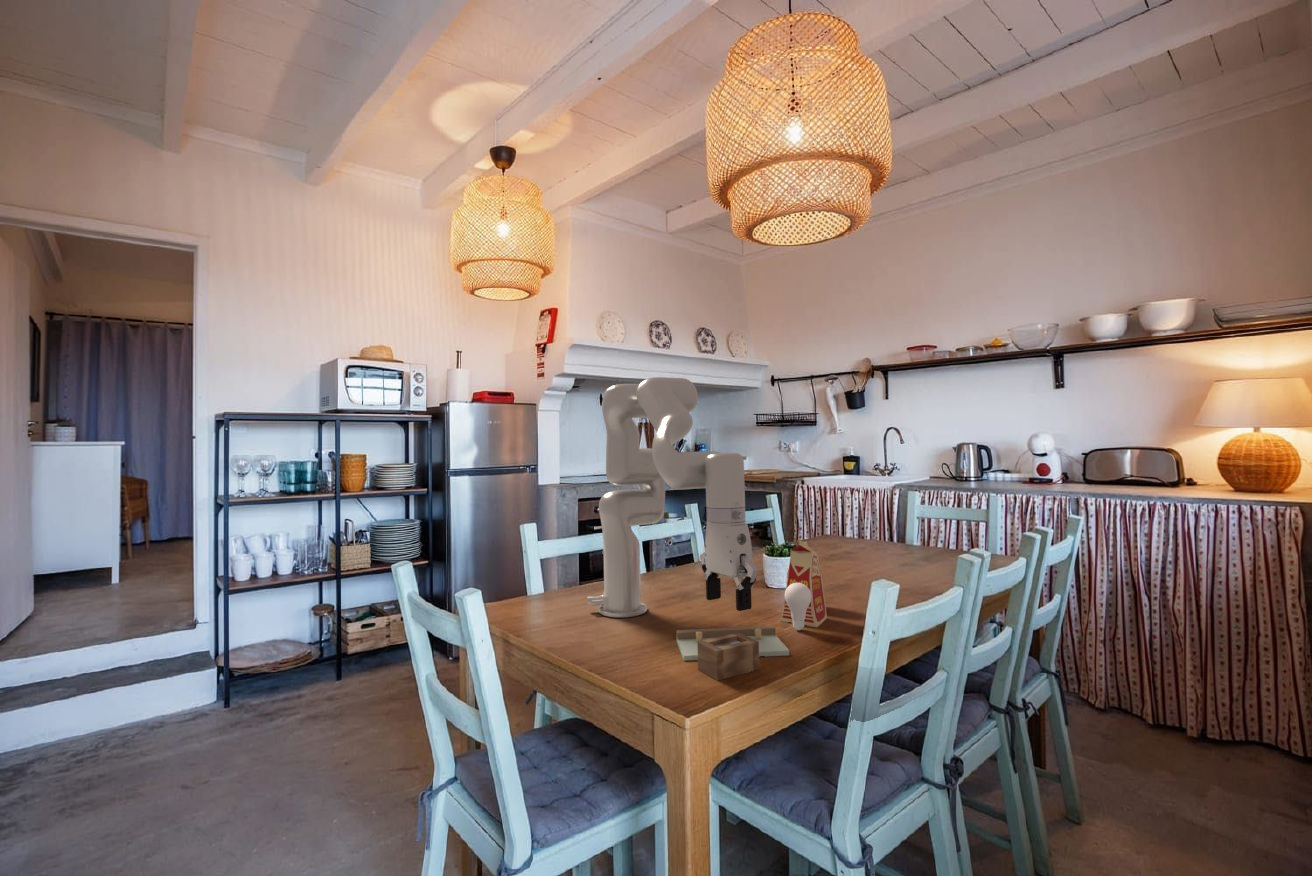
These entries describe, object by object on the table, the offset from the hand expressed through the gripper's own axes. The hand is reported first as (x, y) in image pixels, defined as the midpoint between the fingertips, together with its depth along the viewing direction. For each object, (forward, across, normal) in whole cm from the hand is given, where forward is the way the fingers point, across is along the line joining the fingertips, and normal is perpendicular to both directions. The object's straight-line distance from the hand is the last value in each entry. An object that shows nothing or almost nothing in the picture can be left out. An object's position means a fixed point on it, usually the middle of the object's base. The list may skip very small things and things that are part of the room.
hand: (728, 604), depth 121 cm
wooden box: (+13, 0, 0) cm, 13 cm away
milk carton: (+13, +17, -35) cm, 41 cm away
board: (+13, +10, -8) cm, 18 cm away
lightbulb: (+13, +11, -28) cm, 33 cm away
